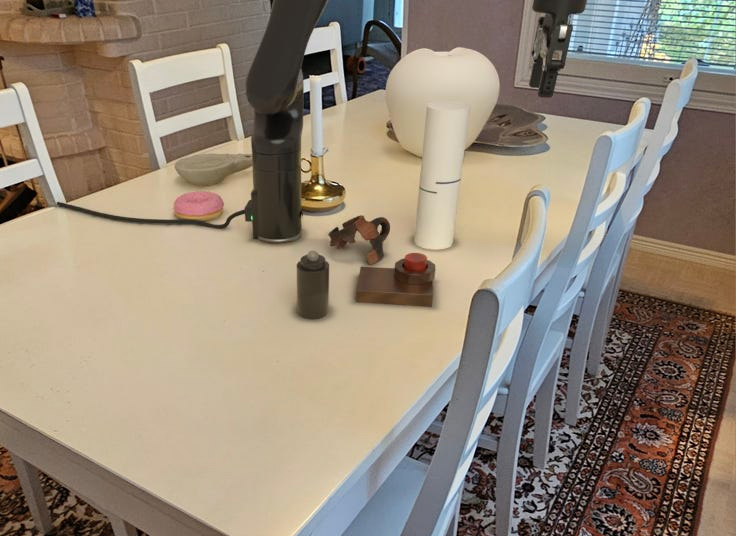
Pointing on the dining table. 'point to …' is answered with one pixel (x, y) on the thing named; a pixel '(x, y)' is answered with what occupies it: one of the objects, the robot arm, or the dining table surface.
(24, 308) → the dining table surface
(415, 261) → the button
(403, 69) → the vase
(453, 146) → the cylindrical container
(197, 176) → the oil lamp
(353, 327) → the dining table surface
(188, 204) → the doughnut
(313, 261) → the pepper mill
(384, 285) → the button box
